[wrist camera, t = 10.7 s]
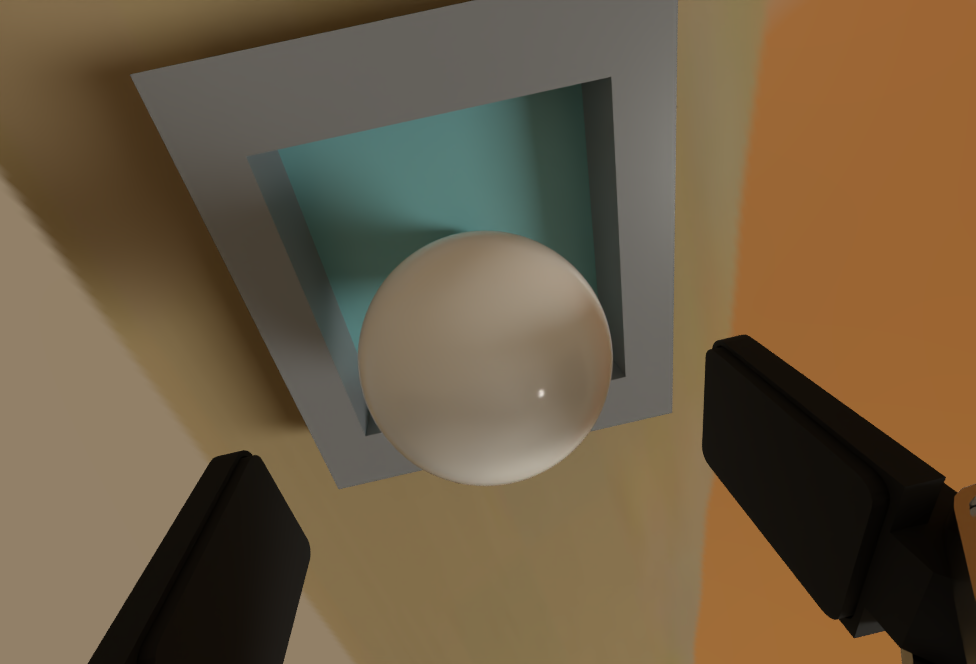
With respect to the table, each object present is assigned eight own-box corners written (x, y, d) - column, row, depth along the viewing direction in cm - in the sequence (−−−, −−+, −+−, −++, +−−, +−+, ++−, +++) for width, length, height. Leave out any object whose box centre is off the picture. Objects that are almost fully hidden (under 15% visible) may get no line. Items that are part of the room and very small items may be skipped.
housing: (635, 364, 23) (672, 412, 20) (352, 428, 23) (338, 489, 20) (622, -14, 16) (678, -44, 12) (197, 78, 15) (129, 74, 12)
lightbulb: (354, 240, 18) (257, 408, 8) (491, 147, 17) (571, 209, 7) (446, 355, 20) (456, 584, 11) (568, 281, 19) (702, 460, 10)
